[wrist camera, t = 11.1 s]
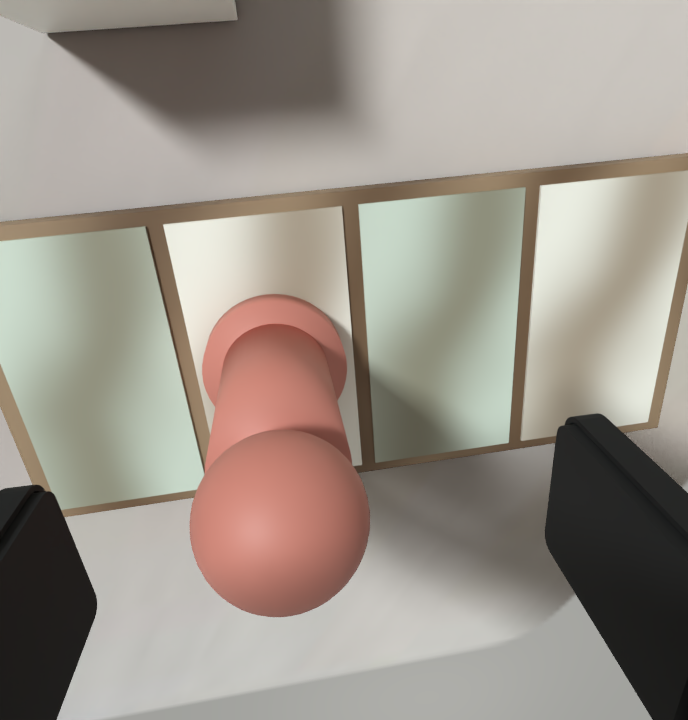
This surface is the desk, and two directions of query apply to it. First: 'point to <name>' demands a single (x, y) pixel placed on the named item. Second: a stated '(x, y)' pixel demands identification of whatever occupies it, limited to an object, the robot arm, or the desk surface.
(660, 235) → the board
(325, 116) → the desk surface
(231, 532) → the pawn
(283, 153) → the desk surface
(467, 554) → the desk surface
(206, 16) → the die
